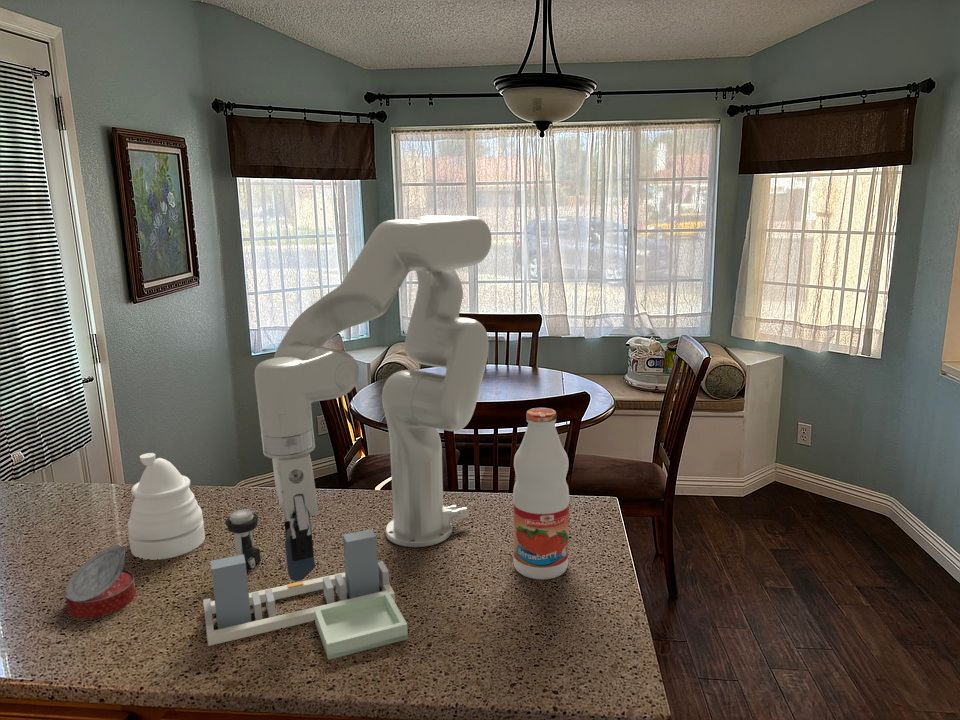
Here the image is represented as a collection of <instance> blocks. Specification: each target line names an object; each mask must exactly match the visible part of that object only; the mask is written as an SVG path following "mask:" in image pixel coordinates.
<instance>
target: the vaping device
mask: <svg viewBox="0 0 960 720" xmlns="http://www.w3.org/2000/svg"><path fill="white" fill-rule="evenodd" d="M294 516H296V513H294ZM308 516H309V524H310V531H311V533H312V525H311V518H310V517H311V514H310V513H309V511H308ZM297 524H298V522H297V521H295V525H297ZM312 534H313V533H312ZM290 536H291V529H290V528H288V529H287V535H286V534H285V540H284V548H285V556H286V557H285V558H286V563H287V564H286V565H287V566H286V567H287V573H288V574H287V575H288V577H289V579H290V580H291V581H293V582H300V581H304V580H305V578H306V577H307V576H308V575H309V574H310V573H311V572H312V571H314V569H315V568H316V564H315V563H316V562H315V555H314V556H313V557H311V558H307V559H303V560H298V561H293V560H292V554H291V545H290ZM312 543H313V540H312ZM313 544H314V543H313ZM313 553H314V550H313Z"/></svg>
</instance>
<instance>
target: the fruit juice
mask: <svg viewBox="0 0 960 720" xmlns="http://www.w3.org/2000/svg"><path fill="white" fill-rule="evenodd" d="M526 422H527V423H528V424H527V427H526V429H525V433H524V436H523V438H522V441H521V443H520V446H519V448H518V449H517V450H516V453H515V454H514V456H513V457H514V458H513V468H514V472H515V476H516V480H515V483H514V486H513V490H512V491H513V492H512V515H513V517H512V521H513V522H512V523H513V524H512V525H513V526H512V528H513V530H512V531H513V532H512V533H513V535H512V537H513V538H512V539H513V540H512V542H513V547H512V549H513V554H512V557H513V565H514V566H513V567H514V568H515V570H516V571H517V573H519V575H522V576H523V577H526V578H529V579H534V580H551V579H555V578H558V577H559V576H561V575H563V574H564V573H565V572H566V571H567V568H568V566H569V565H568V564H569V527H570V526H569V525H570V520H569V519H570V516H569V514H570V511H569V510H570V492H569V491H570V490H569V489H570V488H569V485H568V483H567V480H566V478H567V474H568V471H569V466H570V465H569V457H568V454H567V452H566V450H565V449H564V447H563V445H562V442H561V440H560V436H559V434H558V431H557V428H556V425H555V423H556V422H557V412H556V410H554V409H553V408H548V407H534V408H530V409H528V410H527V411H526Z"/></svg>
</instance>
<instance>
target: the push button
mask: <svg viewBox="0 0 960 720" xmlns="http://www.w3.org/2000/svg"><path fill="white" fill-rule="evenodd" d="M258 521H259V515H258V514H256V513H254V512H253V511H252V510H251V509H248V508H247V509H245V508H244V509H237V510H235V511H232V512H231V514H230V516H228V517H227V518H226V519H225V525H226V526H227V531H228V532H230V533H232V534H233V535H234V545H235V549H234V550H235V556H237V555H243V554H244V558H245V562H246V571H248V570H249V569H250V568H251V569H253V568H254V567H255V566H256V564H259V563H260V562H261V552H260V551H261V549H260V548H258V547H255V544H254V538H253V535H254V534H253V530H255V529H256V527H258Z"/></svg>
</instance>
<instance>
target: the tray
mask: <svg viewBox="0 0 960 720" xmlns="http://www.w3.org/2000/svg"><path fill="white" fill-rule="evenodd" d="M314 615H315V621H314V623H315V627H316V630H317V633H318V636H319V639H320V641H321V645H322V646H323V649H324V653H325V655H326V658H327V660H328V661H330V660H334V659H338V658H342V657H346V656H349V655H353V654H357V653H360V652H364V651H367V650H368V651H369V650H372V649H376V648H379V647H384V646H387V645H391V644H396V643H400V642H402V641H406V640H409V637H408V636H409V633H408V632H409V631H408V623H407V621H406V620H405V617H404V615H403V614H402V612H401V611H400V609H399V607H398V605H397V604H396V601H394V600H393V598H392V596H391V595H390V593H389V591H388V592H383V593H379V594H375V595H371V596H366V597H362V598H358V599H353V600H349V601H345V602H341V603H336V604H332V605H328V606H323V607H319V608H315V609H314Z"/></svg>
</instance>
